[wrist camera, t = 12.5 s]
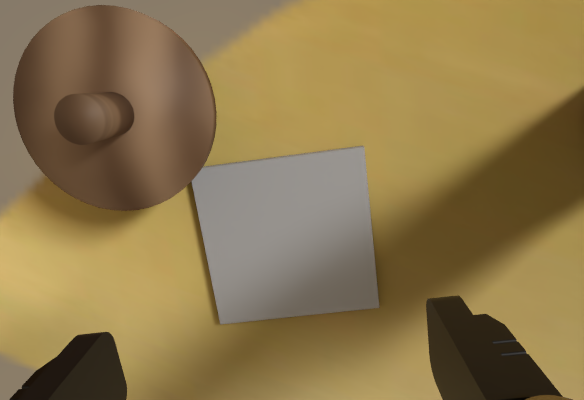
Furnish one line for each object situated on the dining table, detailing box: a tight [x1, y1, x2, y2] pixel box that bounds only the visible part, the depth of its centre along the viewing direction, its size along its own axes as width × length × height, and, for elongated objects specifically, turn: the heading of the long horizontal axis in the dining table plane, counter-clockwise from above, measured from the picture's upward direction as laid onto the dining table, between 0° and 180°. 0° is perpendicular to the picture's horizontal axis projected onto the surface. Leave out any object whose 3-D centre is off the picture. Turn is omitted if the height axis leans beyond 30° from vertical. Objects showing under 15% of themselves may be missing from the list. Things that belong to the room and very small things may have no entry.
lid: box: [13, 5, 216, 211], centre depth 31 cm, size 15×15×6 cm
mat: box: [192, 146, 379, 324], centre depth 42 cm, size 16×16×1 cm
